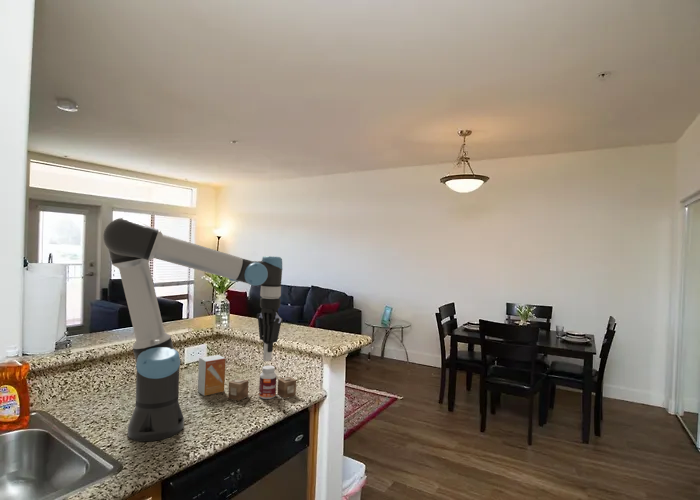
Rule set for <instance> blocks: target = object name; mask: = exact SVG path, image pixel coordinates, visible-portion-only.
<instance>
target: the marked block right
mask: <svg viewBox="0 0 700 500" xmlns="http://www.w3.org/2000/svg"><path fill="white" fill-rule="evenodd" d="M277 395H278V396H279V397H280V398H282V397H283V398H282V399H284V398H285V399H289V398H293V397H296V396H297V379H296V378H295V379H294V378H293V377H291V376H286V377H281V378H278V379H277ZM288 397H289V398H288Z"/></svg>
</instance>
